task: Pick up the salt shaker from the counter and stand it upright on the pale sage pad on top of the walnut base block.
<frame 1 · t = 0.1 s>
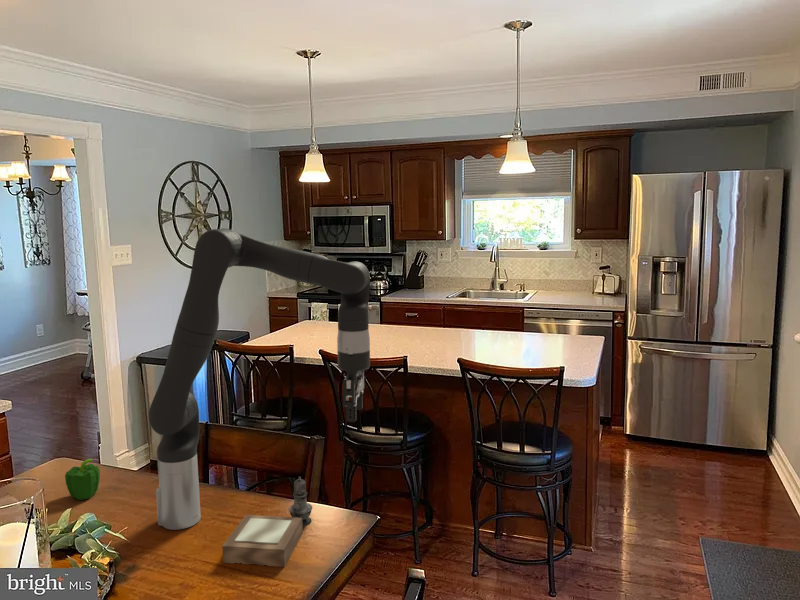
hand: (354, 415, 143), 29 cm above the table, tool pointing down, fingers open, 8 cm apart
base block: (264, 547, 140), on the table
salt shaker: (301, 522, 152), on the table
bell pepper: (84, 496, 166), on the table
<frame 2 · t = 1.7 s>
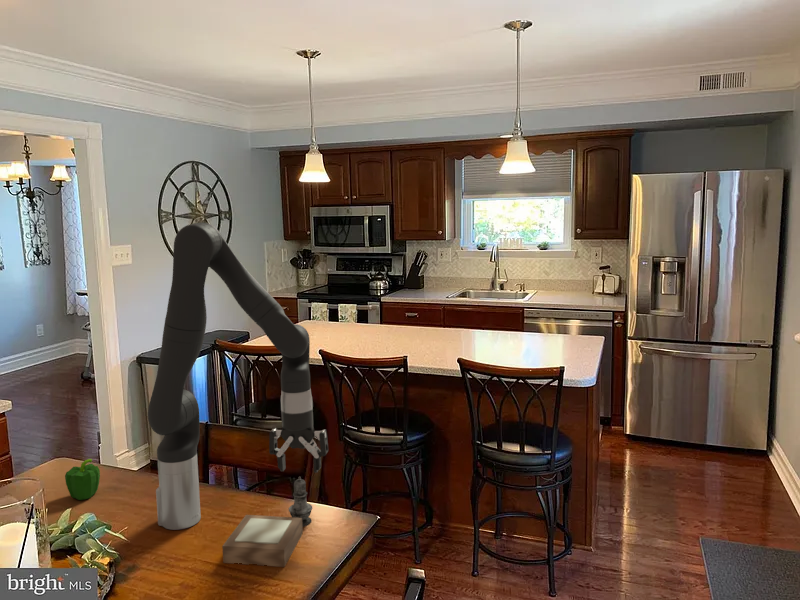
hand: (299, 470, 150), 13 cm above the table, tool pointing down, fingers open, 8 cm apart
nothing on the table moved.
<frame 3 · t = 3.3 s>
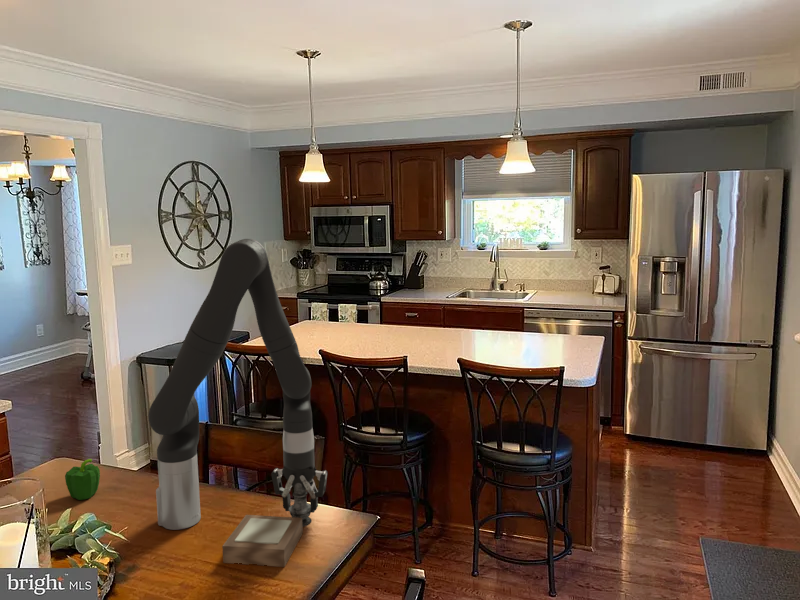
hand: (300, 510, 151), 3 cm above the table, tool pointing down, fingers closed on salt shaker, 6 cm apart
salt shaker: (301, 522, 152), on the table, touching gripper
everything else where it was.
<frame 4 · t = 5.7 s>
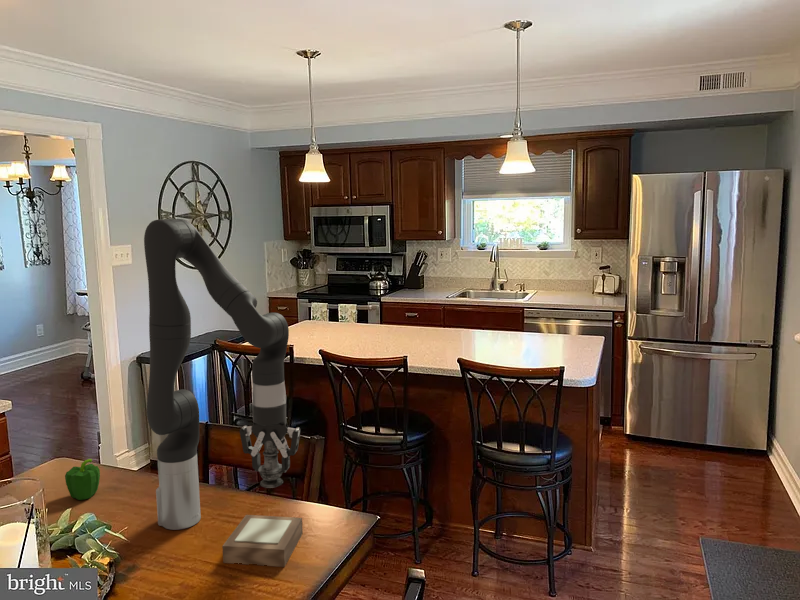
hand: (271, 470, 141), 17 cm above the table, tool pointing down, fingers closed on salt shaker, 6 cm apart
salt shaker: (271, 483, 141), point 14 cm above the table, touching gripper
everything else where it was.
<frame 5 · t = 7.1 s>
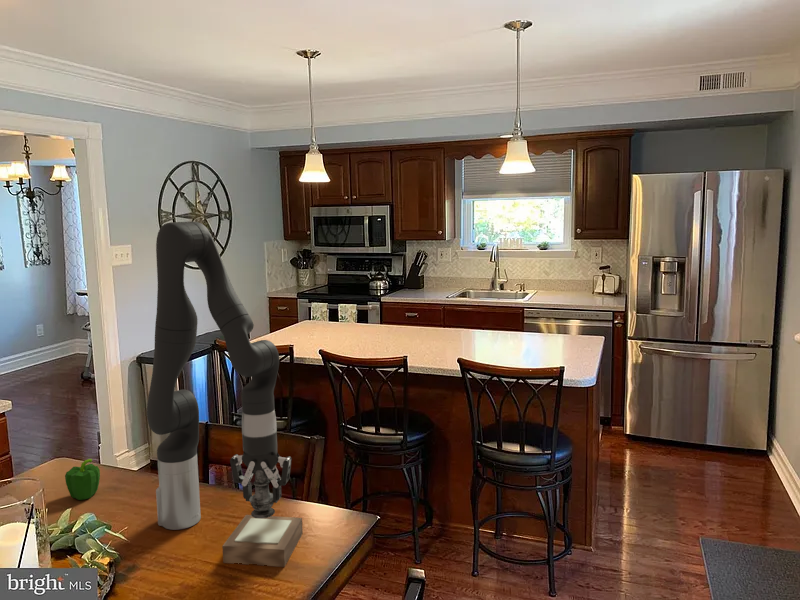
hand: (262, 500, 139), 12 cm above the table, tool pointing down, fingers closed on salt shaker, 6 cm apart
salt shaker: (263, 513, 139), point 8 cm above the table, touching gripper
everything else where it was.
when the fingers open (8 cm above the table, at t = 8.2 s): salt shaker drops 1 cm, resting on base block.
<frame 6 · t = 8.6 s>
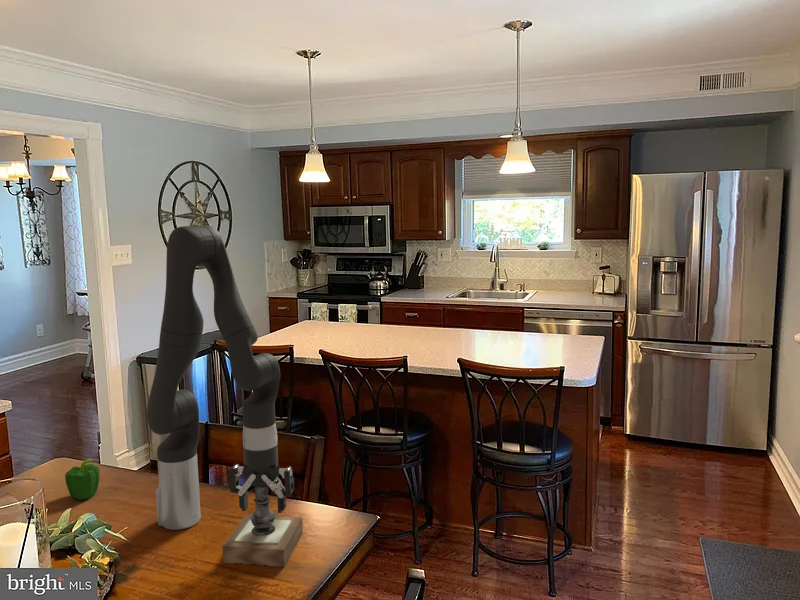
hand: (263, 510, 139), 9 cm above the table, tool pointing down, fingers open, 8 cm apart
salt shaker: (263, 530, 140), point 4 cm above the table, touching base block
everything else where it was.
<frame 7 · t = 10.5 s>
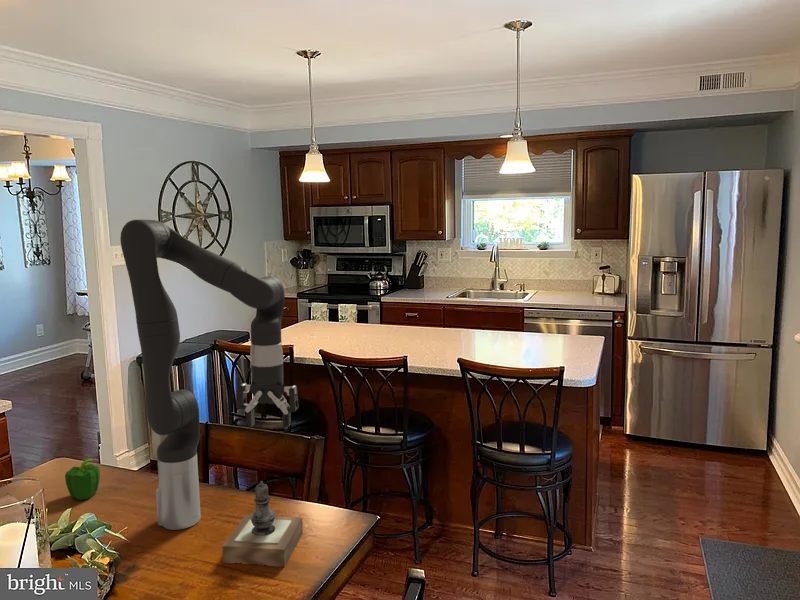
hand: (268, 427, 146), 25 cm above the table, tool pointing down, fingers open, 8 cm apart
nothing on the table moved.
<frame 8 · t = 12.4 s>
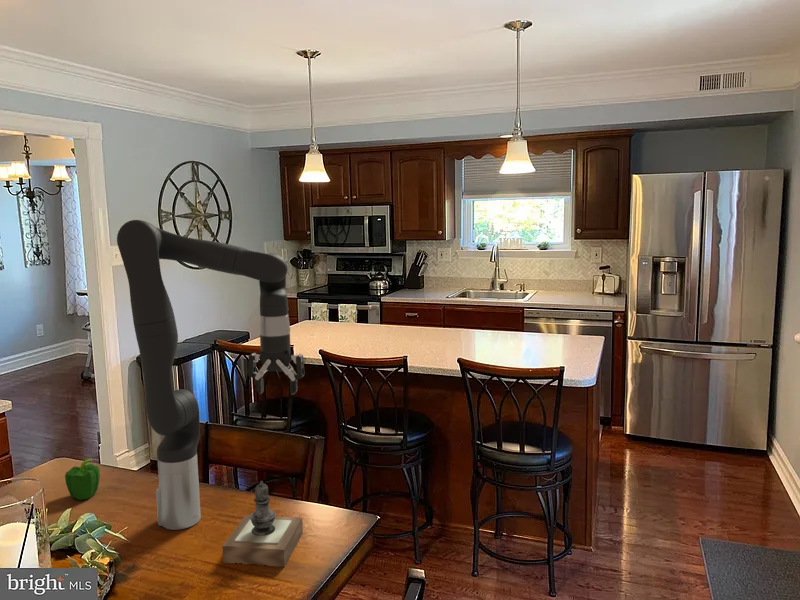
hand: (277, 393, 157), 30 cm above the table, tool pointing down, fingers open, 8 cm apart
nothing on the table moved.
at the end: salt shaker inside the target area on the base block (0.1 cm from its centre), point 4.1 cm above the base block's base; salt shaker tilted 0°; the gripper is holding nothing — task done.
